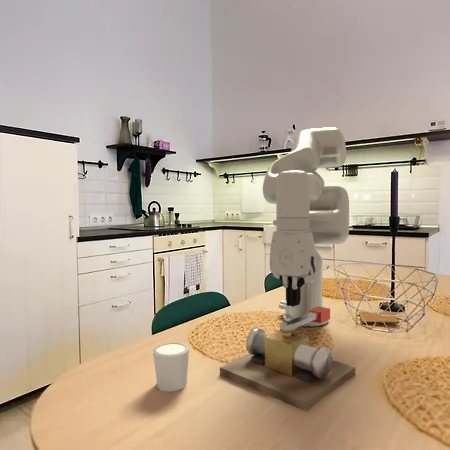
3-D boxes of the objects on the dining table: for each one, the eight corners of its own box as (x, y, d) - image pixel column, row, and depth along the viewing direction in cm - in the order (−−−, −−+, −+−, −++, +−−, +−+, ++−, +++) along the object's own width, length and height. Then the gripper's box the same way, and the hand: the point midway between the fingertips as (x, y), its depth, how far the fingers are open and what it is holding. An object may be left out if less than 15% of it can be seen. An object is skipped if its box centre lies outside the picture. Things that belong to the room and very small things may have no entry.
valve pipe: (245, 360, 80) (245, 325, 80) (263, 351, 84) (263, 318, 84) (315, 386, 69) (315, 345, 68) (332, 374, 73) (332, 336, 72)
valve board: (219, 374, 77) (219, 366, 77) (274, 348, 90) (273, 341, 90) (305, 411, 63) (305, 401, 63) (355, 374, 76) (355, 366, 76)
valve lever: (276, 334, 76) (276, 323, 76) (318, 316, 88) (318, 306, 87) (289, 338, 74) (288, 326, 74) (330, 319, 85) (330, 308, 85)
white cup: (195, 378, 76) (194, 344, 75) (180, 395, 69) (179, 357, 69) (164, 374, 78) (163, 340, 77) (147, 390, 71) (145, 353, 71)
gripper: (257, 225, 90) (257, 302, 91) (312, 227, 80) (312, 314, 81) (276, 224, 96) (276, 297, 96) (330, 225, 85) (330, 307, 86)
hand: (293, 304), depth 89 cm, fingers closed
